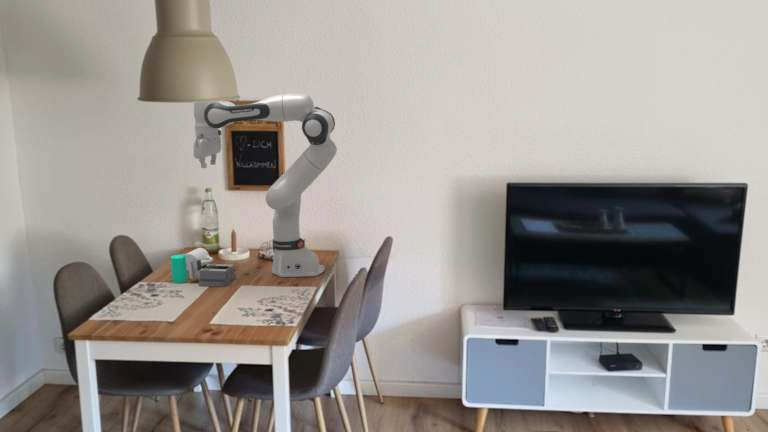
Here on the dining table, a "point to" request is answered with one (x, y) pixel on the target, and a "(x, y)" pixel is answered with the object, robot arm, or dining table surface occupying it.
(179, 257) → the candle
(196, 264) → the light grey block
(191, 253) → the mug
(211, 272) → the grey box
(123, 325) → the dining table surface
